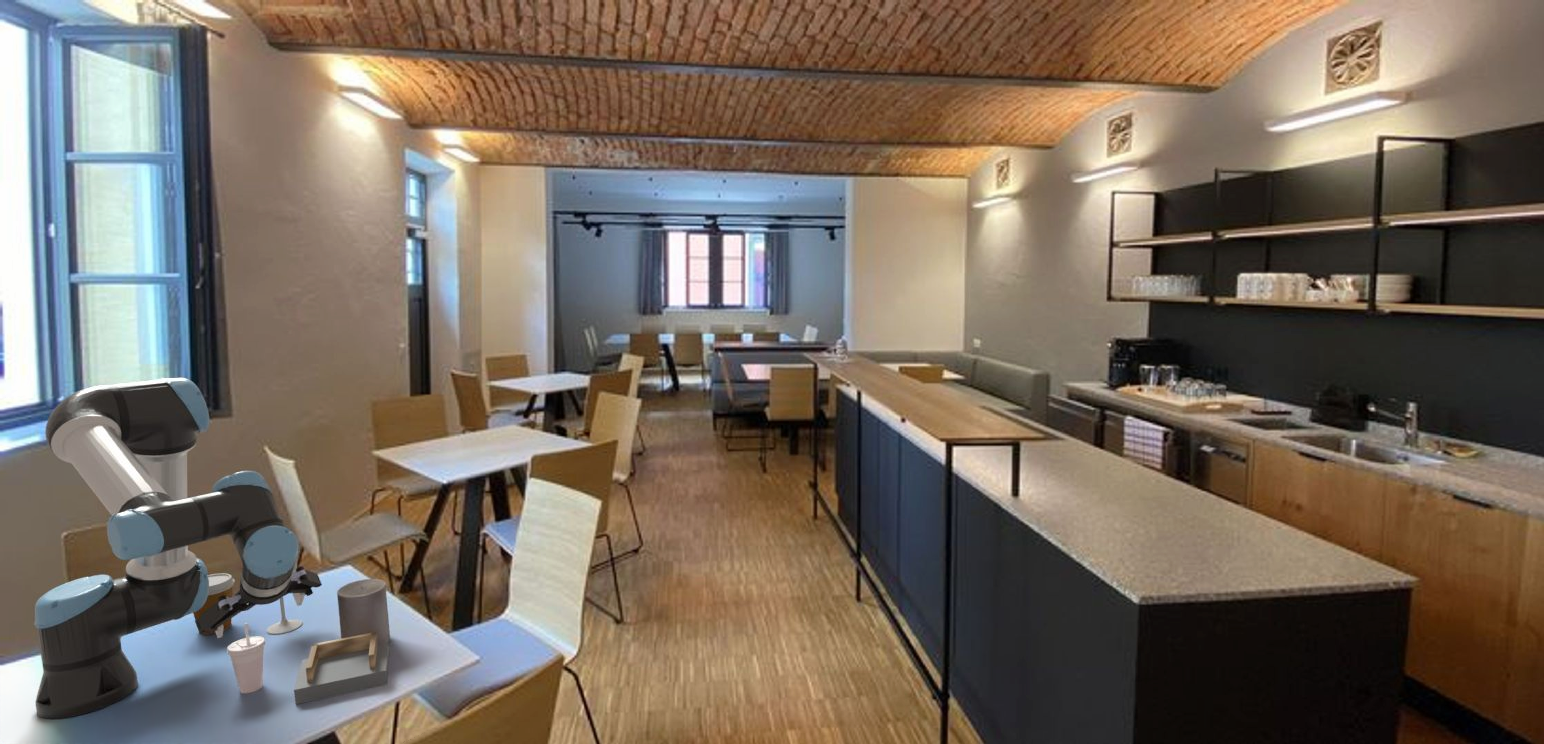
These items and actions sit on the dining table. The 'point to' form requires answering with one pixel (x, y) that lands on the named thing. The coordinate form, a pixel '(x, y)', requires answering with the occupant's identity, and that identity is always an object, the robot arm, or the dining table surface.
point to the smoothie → (248, 661)
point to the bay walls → (341, 650)
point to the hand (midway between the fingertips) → (258, 614)
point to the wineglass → (284, 620)
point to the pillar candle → (364, 609)
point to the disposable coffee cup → (217, 594)
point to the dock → (342, 675)
